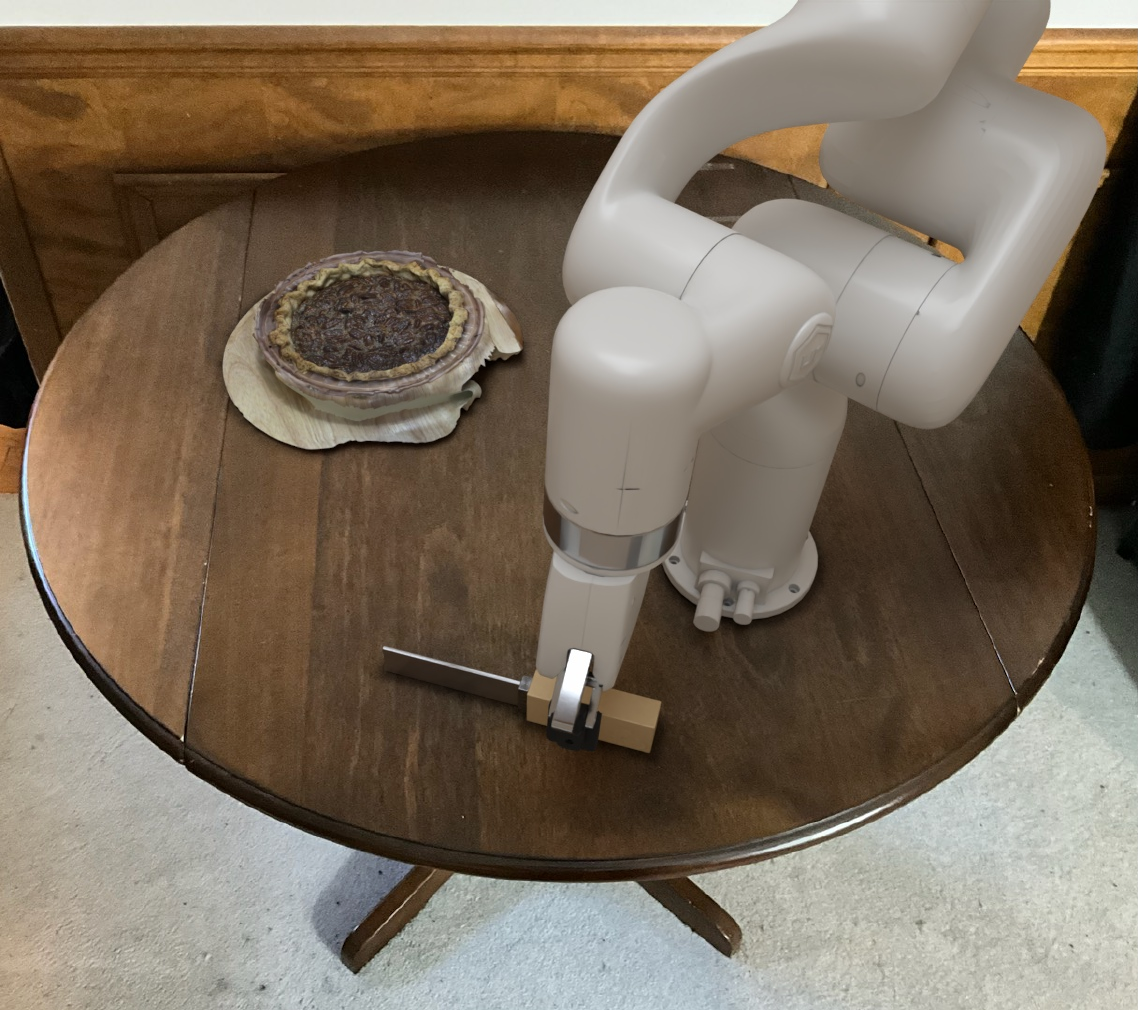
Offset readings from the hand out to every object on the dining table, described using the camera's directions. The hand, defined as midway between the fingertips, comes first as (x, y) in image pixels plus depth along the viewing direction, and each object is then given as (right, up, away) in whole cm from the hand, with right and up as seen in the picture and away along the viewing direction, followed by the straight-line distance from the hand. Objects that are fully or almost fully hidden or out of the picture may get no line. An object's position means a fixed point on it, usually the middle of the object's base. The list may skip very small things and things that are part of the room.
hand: (591, 678), depth 68 cm
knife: (-4, -3, +6) cm, 8 cm away
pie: (-20, +26, +31) cm, 45 cm away
